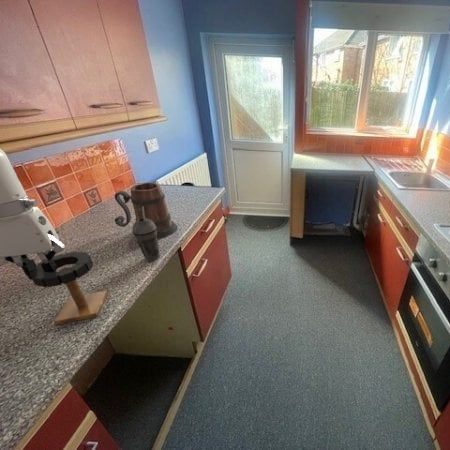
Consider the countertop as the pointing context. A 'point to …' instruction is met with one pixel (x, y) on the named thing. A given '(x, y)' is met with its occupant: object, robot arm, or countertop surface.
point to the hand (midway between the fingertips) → (43, 274)
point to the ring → (64, 276)
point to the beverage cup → (147, 237)
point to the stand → (80, 304)
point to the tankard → (147, 207)
